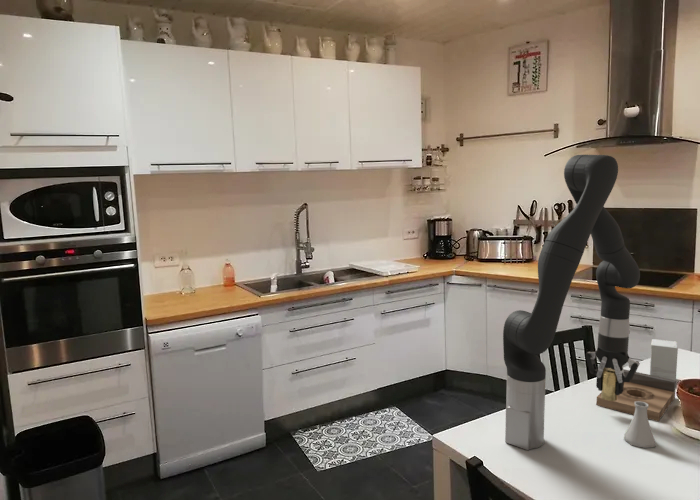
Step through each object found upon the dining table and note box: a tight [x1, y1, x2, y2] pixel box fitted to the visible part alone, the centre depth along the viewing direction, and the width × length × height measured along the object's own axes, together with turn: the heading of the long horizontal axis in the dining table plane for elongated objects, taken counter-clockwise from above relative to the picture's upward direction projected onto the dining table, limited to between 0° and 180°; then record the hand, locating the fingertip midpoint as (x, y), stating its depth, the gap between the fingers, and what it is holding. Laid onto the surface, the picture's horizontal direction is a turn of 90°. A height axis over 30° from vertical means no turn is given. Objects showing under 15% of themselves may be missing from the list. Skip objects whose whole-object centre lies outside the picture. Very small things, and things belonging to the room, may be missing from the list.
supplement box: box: [649, 338, 679, 381], centre depth 166 cm, size 7×7×13 cm
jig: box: [595, 368, 677, 422], centre depth 151 cm, size 20×16×6 cm
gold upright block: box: [600, 368, 618, 401], centre depth 143 cm, size 4×4×8 cm
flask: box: [623, 401, 656, 449], centre depth 128 cm, size 7×7×10 cm
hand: (609, 391), depth 143 cm, fingers closed on gold upright block, 4 cm apart
